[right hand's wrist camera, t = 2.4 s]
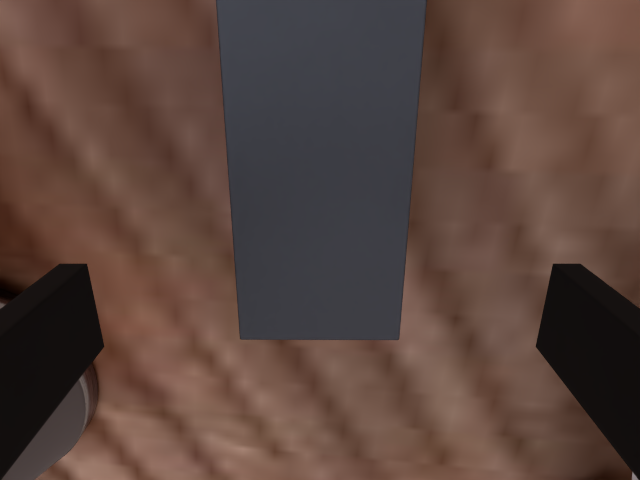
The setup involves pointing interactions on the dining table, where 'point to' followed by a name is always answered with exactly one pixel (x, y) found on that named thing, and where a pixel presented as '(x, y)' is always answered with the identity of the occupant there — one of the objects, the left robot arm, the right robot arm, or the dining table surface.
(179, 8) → the dining table surface
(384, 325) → the box
